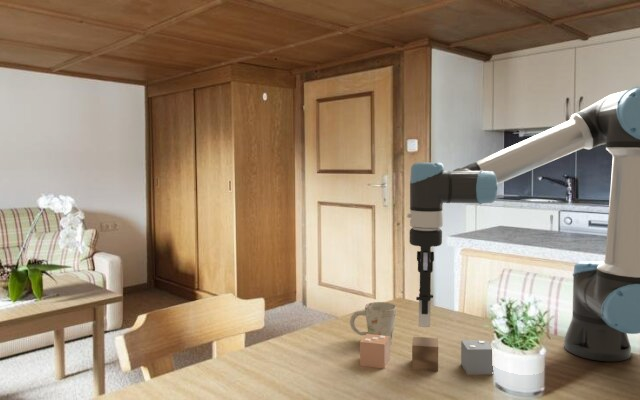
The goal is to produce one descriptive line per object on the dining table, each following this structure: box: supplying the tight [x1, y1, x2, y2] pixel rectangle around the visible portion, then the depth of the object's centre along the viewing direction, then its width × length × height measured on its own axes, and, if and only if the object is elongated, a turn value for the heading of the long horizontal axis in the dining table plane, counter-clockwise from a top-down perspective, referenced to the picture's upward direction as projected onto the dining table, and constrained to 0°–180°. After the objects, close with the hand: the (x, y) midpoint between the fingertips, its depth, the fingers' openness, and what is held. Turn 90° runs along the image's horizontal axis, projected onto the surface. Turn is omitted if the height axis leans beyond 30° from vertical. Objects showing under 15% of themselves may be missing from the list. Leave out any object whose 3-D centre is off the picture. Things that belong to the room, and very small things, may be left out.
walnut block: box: [411, 336, 439, 373], centre depth 128 cm, size 6×6×6 cm
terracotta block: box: [359, 334, 391, 369], centre depth 130 cm, size 6×6×6 cm
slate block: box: [460, 339, 494, 375], centre depth 125 cm, size 6×6×6 cm
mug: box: [349, 301, 397, 345], centre depth 144 cm, size 8×13×10 cm, turn 78°
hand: (424, 325), depth 127 cm, fingers closed
